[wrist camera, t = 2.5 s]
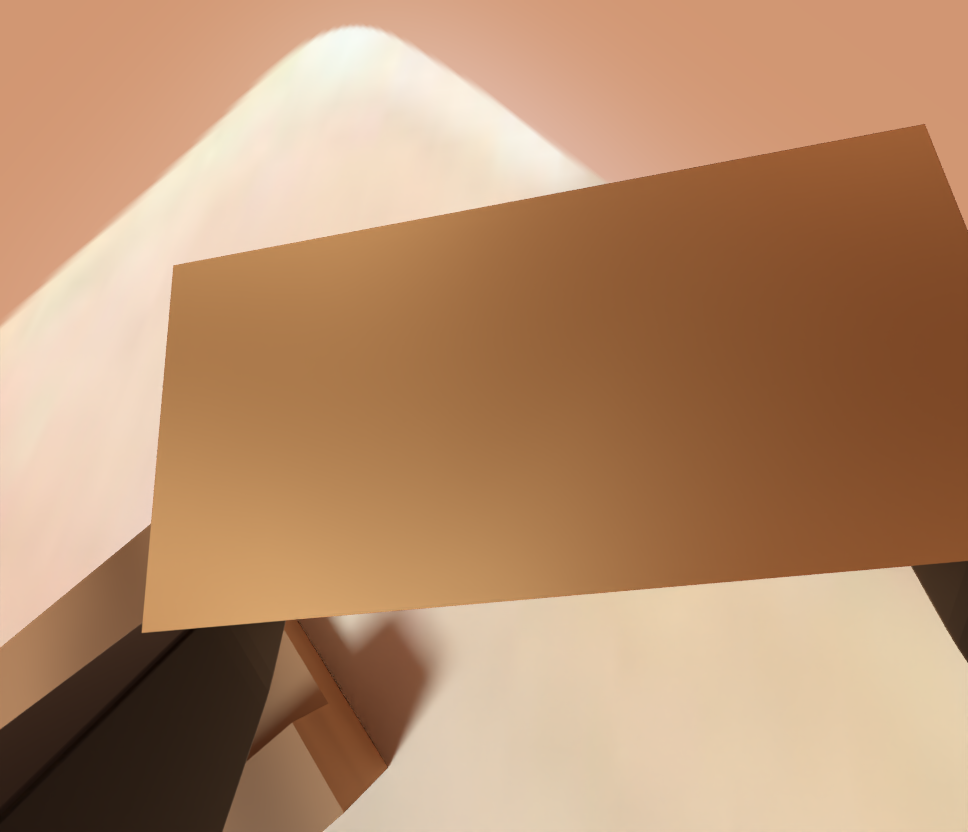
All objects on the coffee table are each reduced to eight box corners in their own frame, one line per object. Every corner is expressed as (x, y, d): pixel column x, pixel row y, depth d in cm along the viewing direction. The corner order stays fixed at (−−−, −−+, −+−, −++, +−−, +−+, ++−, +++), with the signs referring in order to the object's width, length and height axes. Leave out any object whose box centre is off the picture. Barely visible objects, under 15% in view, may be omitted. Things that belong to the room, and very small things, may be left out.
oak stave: (683, 567, 15) (1097, 549, 3) (475, 586, 16) (141, 633, 4) (663, 463, 16) (924, 123, 4) (467, 486, 17) (173, 265, 5)
